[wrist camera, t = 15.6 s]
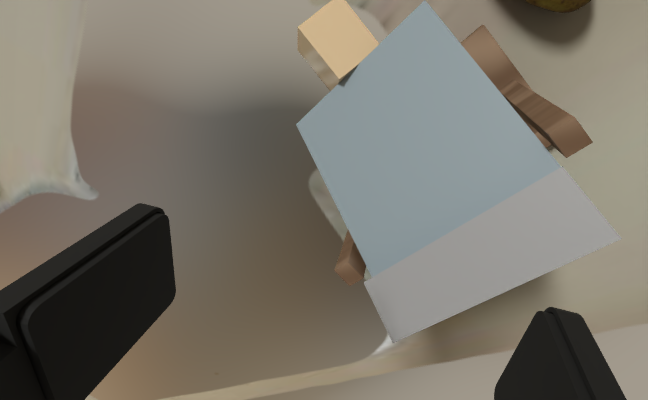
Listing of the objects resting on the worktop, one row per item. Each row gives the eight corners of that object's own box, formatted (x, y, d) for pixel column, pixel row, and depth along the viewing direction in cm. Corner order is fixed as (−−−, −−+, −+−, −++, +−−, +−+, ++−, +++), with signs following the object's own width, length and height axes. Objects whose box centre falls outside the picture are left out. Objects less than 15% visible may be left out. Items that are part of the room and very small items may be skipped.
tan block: (380, 46, 33) (340, -7, 33) (339, 79, 33) (297, 27, 32) (369, 66, 38) (334, 21, 38) (333, 95, 38) (297, 50, 37)
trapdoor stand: (561, 132, 37) (655, 206, 23) (397, 235, 47) (387, 333, 32) (481, 24, 35) (529, 28, 20) (325, 157, 45) (280, 225, 30)
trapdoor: (616, 237, 23) (621, 238, 20) (415, 330, 31) (392, 343, 27) (435, 16, 32) (417, -12, 28) (312, 130, 39) (285, 120, 35)
